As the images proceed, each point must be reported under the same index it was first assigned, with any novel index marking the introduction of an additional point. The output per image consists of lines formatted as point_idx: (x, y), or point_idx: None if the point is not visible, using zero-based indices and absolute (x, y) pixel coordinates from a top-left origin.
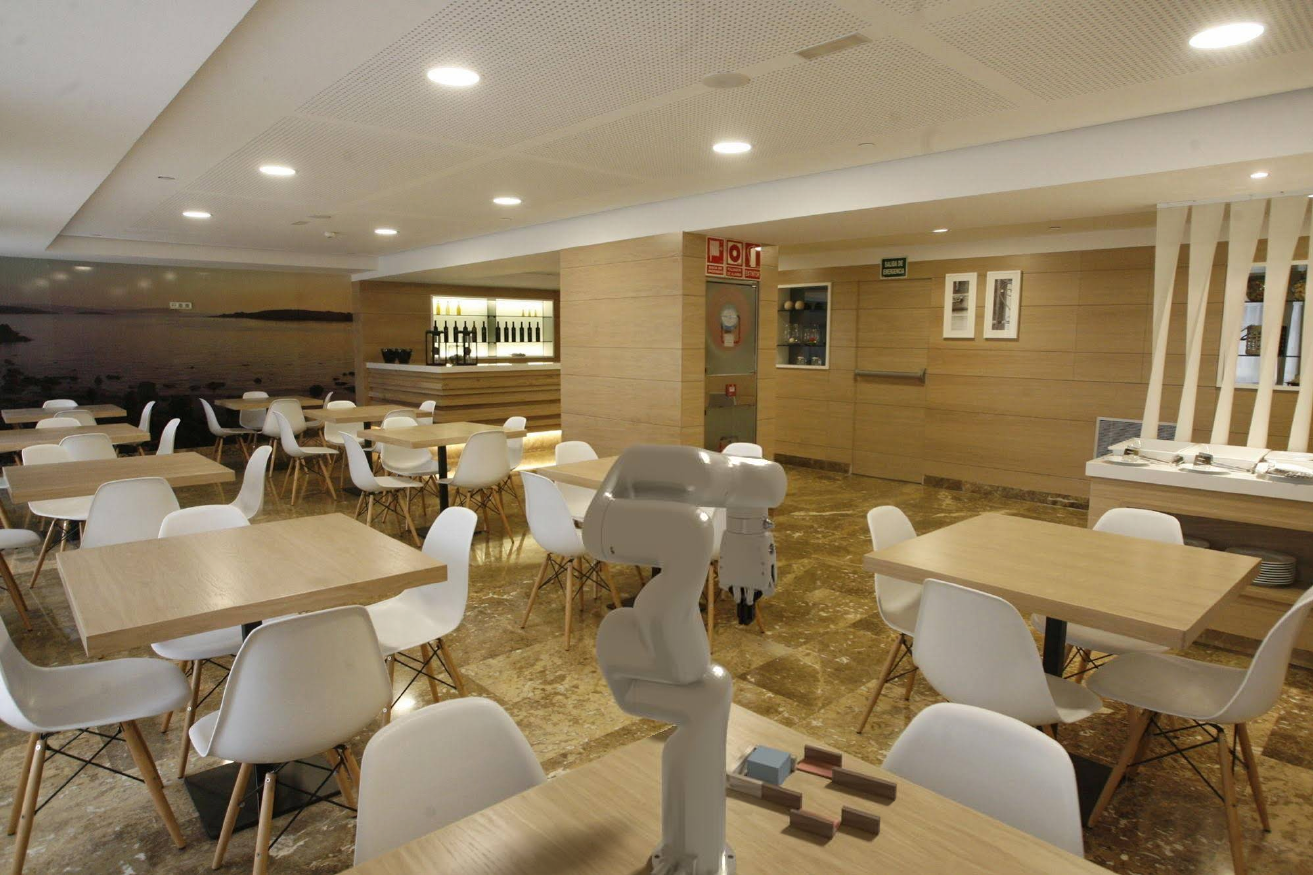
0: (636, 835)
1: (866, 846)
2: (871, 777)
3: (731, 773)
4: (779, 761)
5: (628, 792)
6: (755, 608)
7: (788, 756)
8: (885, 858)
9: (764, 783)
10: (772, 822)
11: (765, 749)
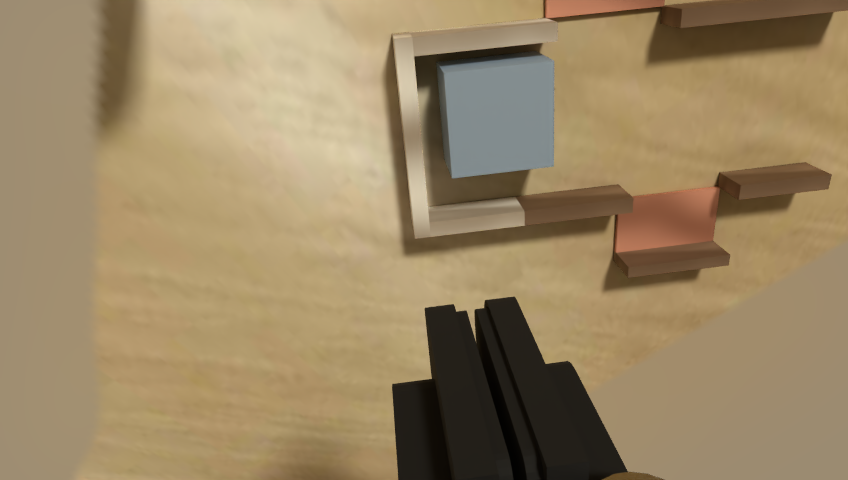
0: (359, 450)
1: (780, 227)
2: (799, 2)
3: (431, 228)
4: (541, 130)
5: (238, 368)
6: (607, 435)
7: (553, 81)
8: (820, 239)
9: (530, 217)
10: (575, 272)
11: (473, 90)
